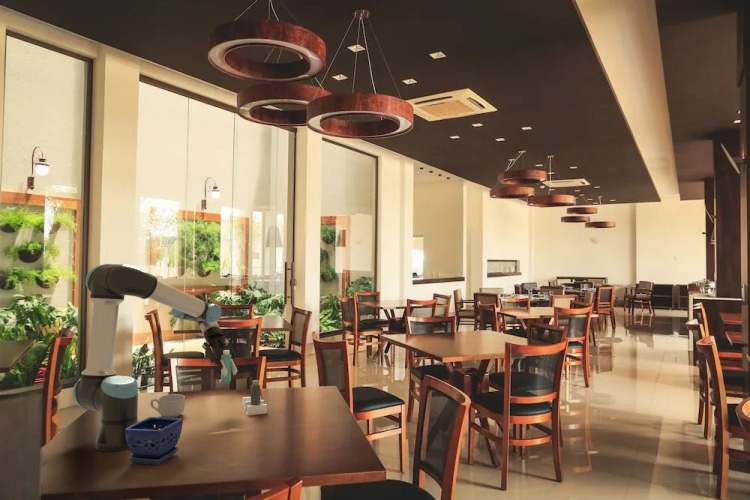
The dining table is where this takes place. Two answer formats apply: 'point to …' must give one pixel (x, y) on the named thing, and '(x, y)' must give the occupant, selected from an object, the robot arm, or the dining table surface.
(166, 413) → the teacup
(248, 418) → the dining table surface
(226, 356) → the teal bottle
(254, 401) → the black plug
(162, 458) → the flower pot
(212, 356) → the robot arm
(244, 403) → the cord comb
